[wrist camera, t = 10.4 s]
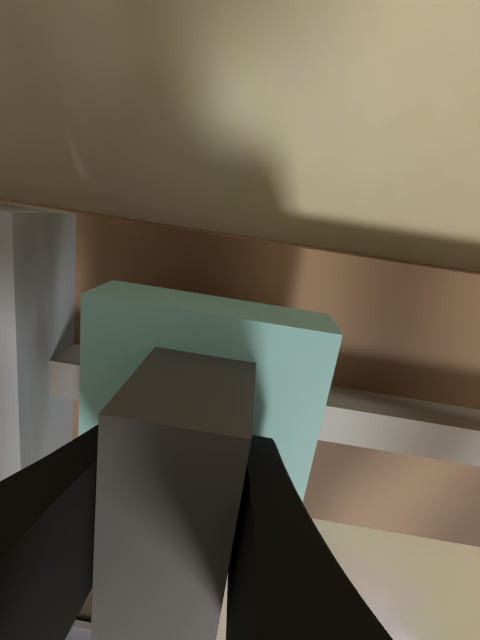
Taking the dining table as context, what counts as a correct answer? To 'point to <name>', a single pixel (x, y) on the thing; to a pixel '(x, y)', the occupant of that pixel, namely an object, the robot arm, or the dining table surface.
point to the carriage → (187, 441)
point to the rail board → (281, 290)
